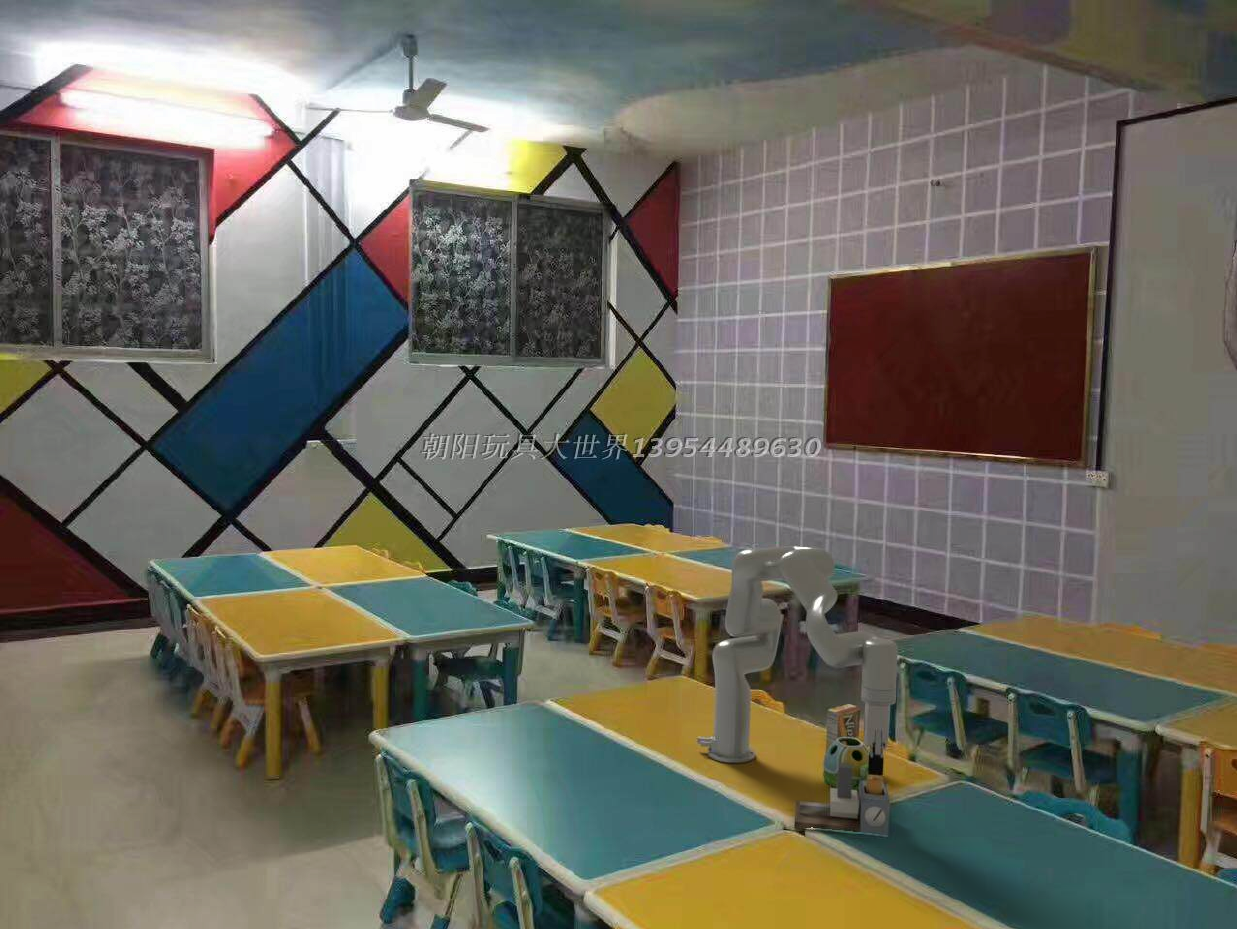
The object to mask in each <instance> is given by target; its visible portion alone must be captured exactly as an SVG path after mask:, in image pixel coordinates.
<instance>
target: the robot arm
mask: <svg viewBox="0 0 1237 929" xmlns="http://www.w3.org/2000/svg"><path fill="white" fill-rule="evenodd" d="M835 568H836V567H835V562H834V559H833V557H832V556H831V554H830V553H829V552H828V551H827V550H825V549H824V548H821V547H810V546H809V547H808V546H795V545H786V546H772V547H771V546H769V547H768V546H767V547H755V548H749V549H743V550H741V551H739V552H737V554H736V555H734V558H733V560H732V562H731V583H730V584H731V585H730V590H729V594H728V599H727V600H728V601H727V605H726V606H727V607H726V611H725V617H724V618H725V619H724V626H725V627H724V628H725V631H726V633H728V634H729V635H730V636H731V637H733V638H728V639H725V640H722V641H720V642H719V643H717V644H716V645H715V647H714V648H713V651H712V664H713V665H712V666H713V669H714V670H713V671H714V680H715V681H714V683H715V684H714V687H715V690H714V724H713V726H714V727H713V735H712V736H709V737H704V736H697V745H700V747H704V748H706V747H707V755H708V757H710V758H711V759H712V760H715V761H718V762H723V763H730V764H741V763H747V762H750V761H752V760H754V758H755V757H756V756H755V755H756V752H755V750H754V749H753V748H751V747H750V738H751V737H750V735H751V733H750V732H751V731H750V730H751V711H752V710H751V709H752V708H751V705H752V704H751V703H752V690H751V686H750V684H749V682H748V681H747V679H746V675H747V674H750V673H758V672H762V671H765V670H767V669H770V668H771V667H772V665H773V663H774V662H775V659H776V655H777V650H778V645H779V639H780V635H781V631H782V630H781V629H782V625H783V624H782V623H783V616H782V612H781V609H780V606H779V605H778V604H777V602H776V601H774V600H773V599H770V598H763V594H764V586H763V582H769V581H770V582H771V581H779V580H780V581H782V580H784V581H785V583H786V584H787V586H788V587H789V588H790V589H791V591H792V592H793V594H794V595H795V597H796V598H797V600H798V601H799V602H800V603H801V605H802V607H804V609H805V611H806V617H805V626H806V634H807V637H808V640H809V642H810V644H811V645H812V647H813V648H814V649H815V651H816V652H817V654H818V655H819V657H820V658H821V659H822V661H823V662H825V663H826V664H827V665H828V666H830V667H833V668H835V669H838V668H839V669H840V668H846V667H852V666H859V665H860V666H861V665H862V670H861V671H862V672H861V676H862V677H861V695H860V696H861V698H860V699H861V701H862V702H863V703H865V704H864V705H865V706H864V717H863V718H864V719H863V720H864V721H863V722H864V723H863V736H862V737H863V744H864V746H865V747H866V748H869V752H870V755H869V760H868V773H869V774H870V775H878V776H881V777H882V776H883V775H884V763H885V762H884V759H885V758H884V749H887V748H888V745H889V744H888V743H889V732H890V718H891V717H890V715H891V714H890V712H891V706H892V705H895V704H896V702H897V700H896V699H897V672H898V652H899V651H898V648H899V647H898V644H897V643H896V642H895V641H894V640H891V639H887V638H883V637H879V636H878V635H876V634H874V633H872V632H870V631H868V630H867V631H866V630H858V631H852V632H851V631H850V632H844V633H836V632H835V631H834V630H833V629H832V627H831V625H830V624H829V623H828V620H827V619H826V616H825V615H826V613H828V612H829V611H830V610H831V608H833V607H834V606H835V604H836V602H837V600H838V592H837V591H836V588H834V586H833V585H832V583H831V582H830V581H829V580H830V579H831V578H832V577H833V575H834V574H835Z"/></svg>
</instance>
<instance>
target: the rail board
mask: <svg viewBox="0 0 1237 929" xmlns="http://www.w3.org/2000/svg"><path fill="white" fill-rule="evenodd" d="M811 827H813V828H821V829H832V830H844V831H853V832H861V827H860V817H859V808H858V814H857V818H847V817H837V816H830V803H824V802H823V803H822V802H821V803H820V802H813V801H811V802H810V801H801V800H795V803H794V824H793V828H794V829H800V830H802V829H801V828H803V830H805V829H804V828H811Z"/></svg>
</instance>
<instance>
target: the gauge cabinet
mask: <svg viewBox="0 0 1237 929" xmlns="http://www.w3.org/2000/svg"><path fill="white" fill-rule="evenodd" d="M866 781H867V780H860V781H859V792H858V808H859V817H860V827H861V832H863V833H872V834H879V835H888V836H889V827H890V806H891V805H890V797H889V792H888V791H889V790H888V786H887V781H883V790H882V795H876V794H866Z"/></svg>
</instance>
